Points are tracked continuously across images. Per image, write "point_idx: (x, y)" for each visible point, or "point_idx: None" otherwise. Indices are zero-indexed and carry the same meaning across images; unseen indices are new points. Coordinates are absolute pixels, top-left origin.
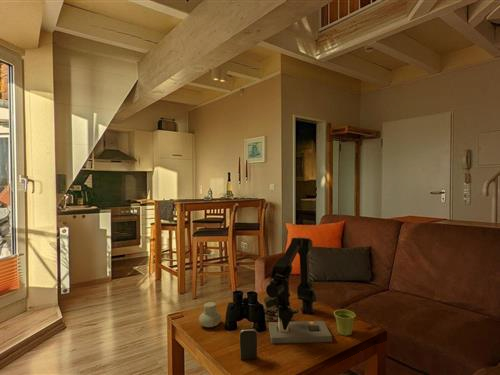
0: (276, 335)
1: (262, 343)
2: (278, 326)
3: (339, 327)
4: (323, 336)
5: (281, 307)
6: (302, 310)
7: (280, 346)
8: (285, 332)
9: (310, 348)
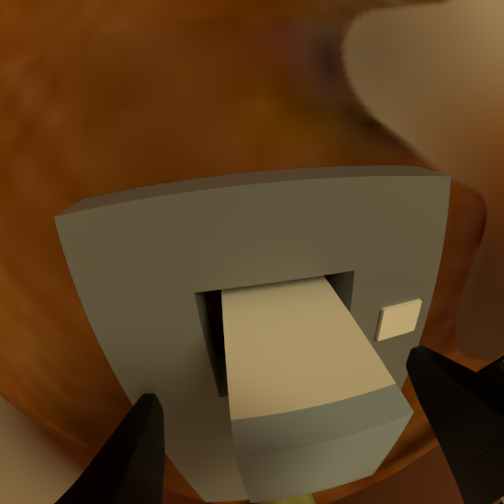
0: (116, 275)
1: (78, 103)
2: (334, 300)
3: None
4: (195, 490)
5: (499, 460)
6: (493, 369)
7: (62, 281)
8: (205, 364)
9: (114, 429)
